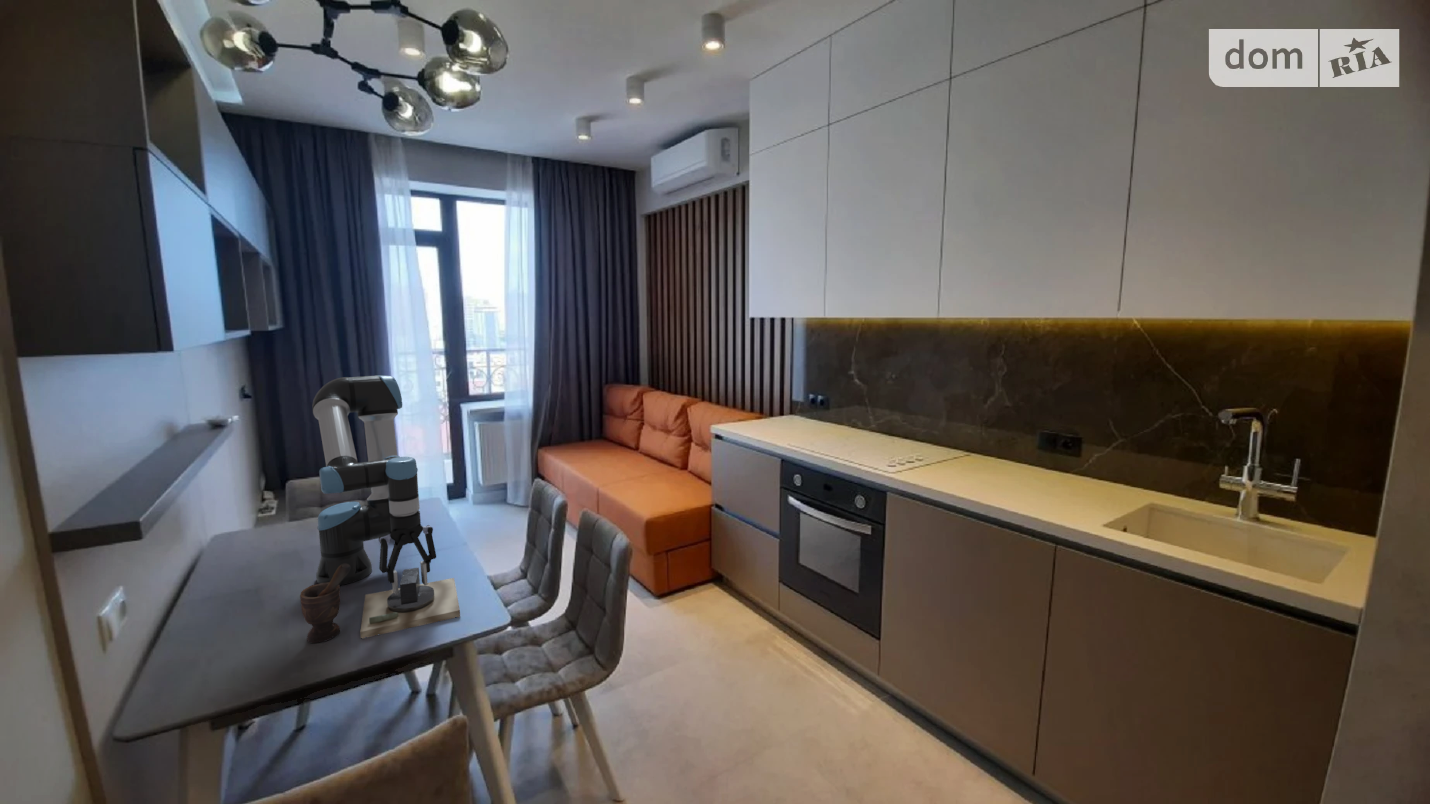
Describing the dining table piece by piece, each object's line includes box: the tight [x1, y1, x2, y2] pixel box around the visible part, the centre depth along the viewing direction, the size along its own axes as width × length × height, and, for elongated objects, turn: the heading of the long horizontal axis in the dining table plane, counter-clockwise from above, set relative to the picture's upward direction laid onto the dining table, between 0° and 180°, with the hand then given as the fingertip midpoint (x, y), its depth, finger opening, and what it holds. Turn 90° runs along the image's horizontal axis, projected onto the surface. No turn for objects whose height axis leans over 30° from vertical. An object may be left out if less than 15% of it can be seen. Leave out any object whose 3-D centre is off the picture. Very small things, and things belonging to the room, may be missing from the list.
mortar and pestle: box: [299, 563, 351, 644], centre depth 148 cm, size 12×9×20 cm
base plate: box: [359, 577, 461, 639], centre depth 163 cm, size 24×22×4 cm
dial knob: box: [387, 567, 434, 613], centre depth 163 cm, size 14×12×8 cm
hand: (410, 587), depth 162 cm, fingers open, 7 cm apart
